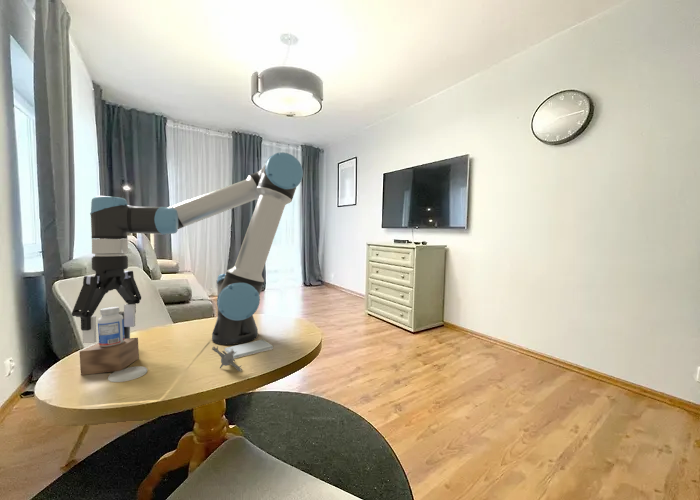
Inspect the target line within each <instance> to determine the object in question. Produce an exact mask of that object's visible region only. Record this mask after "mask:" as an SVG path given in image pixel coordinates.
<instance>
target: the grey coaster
mask: <svg viewBox="0 0 700 500" xmlns="http://www.w3.org/2000/svg"><path fill="white" fill-rule="evenodd" d="M147 372H148V368H147V367H146V366H140V365H139V366H138V365H137V366H130V367H129V366H128V367H125V368H124V369H122V370H121V371H113V372H112V373H111V372H110V374H109V375H108V377H107V380H108V382H111V383H122V382H123V383H124V382H128V381H132V380H136V379H138V378H140V377H143V376H144V375H146V374H147Z"/></svg>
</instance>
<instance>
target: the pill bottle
mask: <svg viewBox="0 0 700 500" xmlns="http://www.w3.org/2000/svg"><path fill="white" fill-rule="evenodd" d="M99 311H100V313H99V314H100V315H101V316H100V317H98V319H97V331H98V343H99V346H101V347H109V346H114V345H118V344H121V343H123V342H124V341H125V336H124V321H123V316H122V315H120V314H119V312H120V307H119V306H110V307H105V308H104V307H103V308H101V309H100V310H99Z"/></svg>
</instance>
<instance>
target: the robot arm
mask: <svg viewBox="0 0 700 500" xmlns="http://www.w3.org/2000/svg"><path fill="white" fill-rule="evenodd" d="M303 176H304V170H303V166H302V164H301V162H300V160H299V159H298V158H297V157H295V155H293V154H291V153H289V152H283V151H282V152H276V153H274V154H272V155H271V156H269V157H268V159H267V160H266V162H265V164H264V165H263V167H262V168H261V169H260V170H257V172H253V173H252V174H249V175H247V178H245V179H243V180H241V181H238V182H235V183H232V184H230V185H226V186H224V187H222V188H221V187H220V188H219V189H218V188H217V189H216V190H213V191H210V192H208V193H204V194H201V195H198V196H195V197H193V198H191V199H190V198H189V199H186V200H183V201H182V202H178V203H176V204H173V205H171V206H168V207H167V206H144V205H143V206H141V205H140V206H138V205H129V203H128V200H127V199H126V198H124V197H118V196H108V195H107V196H106V195H96V196H94V197H93V198H92V199H91V202H90V203H91V204H90V213H89V214H90V230H91V236H90V237H91V254H93V256H92V257H91V269H92V271H94V272H95V275H84V277H83V280H82V281H83V282H82V285H81V289H80V292H79V293H78V297H77V299H76V301H75V304H74V306H73V309H72V312H71V316H72V317H76V318H80V329H81V333H82V344H96V343H97V316H96V315H94V314H95V312H96V310H97V309H98V307H99V305H100V303H101V302H102V300H103V298H104V297H105V295H106V294H108V293H109V292H110V291H113V290H116V291H117V293H118V295H120V297H121V298H122V299H123V300H124V302H125V304H123V312H124V327H130V328H135V327H136V312H137V310H136V306H137V305H136V304H140V302H141V300H142V295H141V292H140V290H139V287H138V285H137V283H136V280H135V278H134V277H135V276H134V271H133V270H127V269H128V268H129V257H128V256H127V255H126V254H128V253H129V246H128V245H129V242H128V241H129V240H128V238H129V237H128V234H149V235H150V234H151V235H161V236H166V235H170V234H172V235H174V234H177V232H178V230H179V229H182V228H184V227H187V226H189V225H192V224H195V223H198V222H201V221H203V220H205V219H208V218H211V217H214V216H216V215H219V214H221V213H224V212H227V211H229V210H232V209H234V208H236V207H239V206H242V205H245V204H248V203H250V202H253V201H255V200H256V204H255V207H254V209H253V213H252V215H251V218H250V221H249V224H248V227H247V229H246V232H245V235H244V238H243V241H242V242H241V243H242V244H241V246H240V250H239V251H238V255H237V258H236V261H235V264H234V266H233V267H230V268H229V269H227V270H226V273H220V274H219V275H218V276H217V281H216V284H217V288H216V289H217V294H216V295H217V299H216V305H217V318H216V322H215V325H214V327H213V331H212V334H211V341H212V343H214V344H218V345H226V346H228V345H230V346H231V345H240V344H245V343H249V342H252V341H255V339H257V337H258V336H259V335H258V334H259V331H258V329H259V328H258V326H257V324H256V321H255V318H254V315H255V313H256V312H257V310H258V309H259V306H260V301H261V299H260V298H261V297H260V295H261V292H262V288H263V286H264V282H265V279H264V277H263V275H262V274H263V271H264V268H265V265H266V264H267V263H266V262H267V260H268V256H269V253H270V251H271V247H272V244H273V242H274V239H275V235H276V233H277V230H278V227H279V224H280V221H281V219H282V215H283V212H284V209H285V207H286V205H287V204H290V203H292V200H293V199H294V195H295V192H296V190H297V187H298V186H299V185H301V182H302V180H303Z"/></svg>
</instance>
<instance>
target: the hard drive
mask: <svg viewBox="0 0 700 500" xmlns="http://www.w3.org/2000/svg"><path fill="white" fill-rule="evenodd" d="M232 348H233V350H232ZM273 349H274V346H273V345H272V344H270V343H269V342H267V341H266V340H265V339H259V340H253V341H249V342H245V343H240V344H235V345H232V346H228V347H224V351H225V352H226V353H229V352H230V351H231V350H232V351H234V353H235V352H236V351H237V352H236V353H235V354H234V355H233V354H232V355H233V358H234V359H235V360H236V359H239V358H241V357H242V358H243V357H246V356H250V355H255V354H258V353H262V352H267V351H270V350H273Z"/></svg>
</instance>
